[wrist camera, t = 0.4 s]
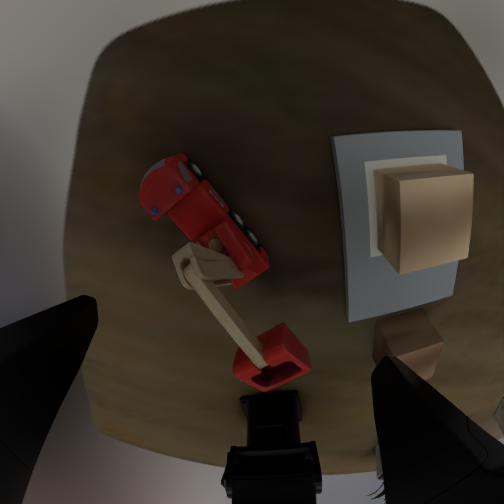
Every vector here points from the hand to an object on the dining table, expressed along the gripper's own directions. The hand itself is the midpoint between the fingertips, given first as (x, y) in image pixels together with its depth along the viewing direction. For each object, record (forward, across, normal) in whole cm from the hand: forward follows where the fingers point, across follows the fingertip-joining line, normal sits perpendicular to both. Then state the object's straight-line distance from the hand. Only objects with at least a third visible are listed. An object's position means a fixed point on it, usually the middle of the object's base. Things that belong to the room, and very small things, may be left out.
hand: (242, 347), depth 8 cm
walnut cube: (+14, -17, +8) cm, 23 cm away
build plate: (+14, -12, -2) cm, 18 cm away
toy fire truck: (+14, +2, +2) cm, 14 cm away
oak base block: (+12, -11, -4) cm, 17 cm away
